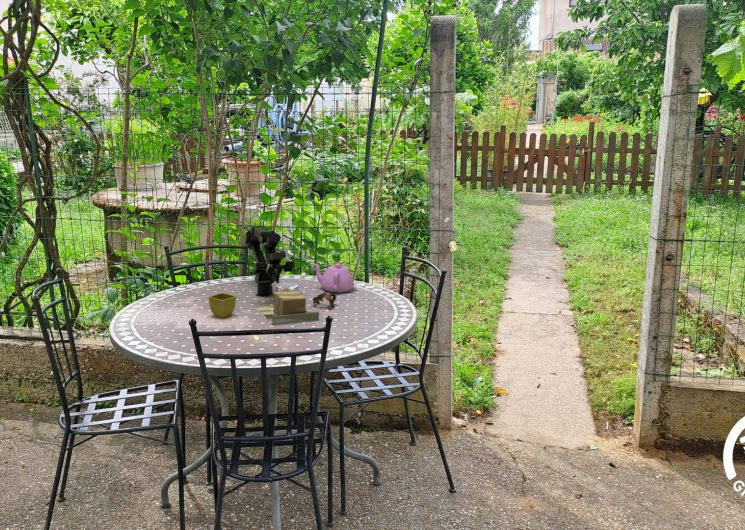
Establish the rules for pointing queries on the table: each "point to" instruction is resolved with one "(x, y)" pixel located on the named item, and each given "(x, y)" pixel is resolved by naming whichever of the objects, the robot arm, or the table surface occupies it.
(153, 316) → the table surface
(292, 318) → the board
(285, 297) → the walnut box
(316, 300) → the brown piece
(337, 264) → the teapot
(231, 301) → the flower pot
